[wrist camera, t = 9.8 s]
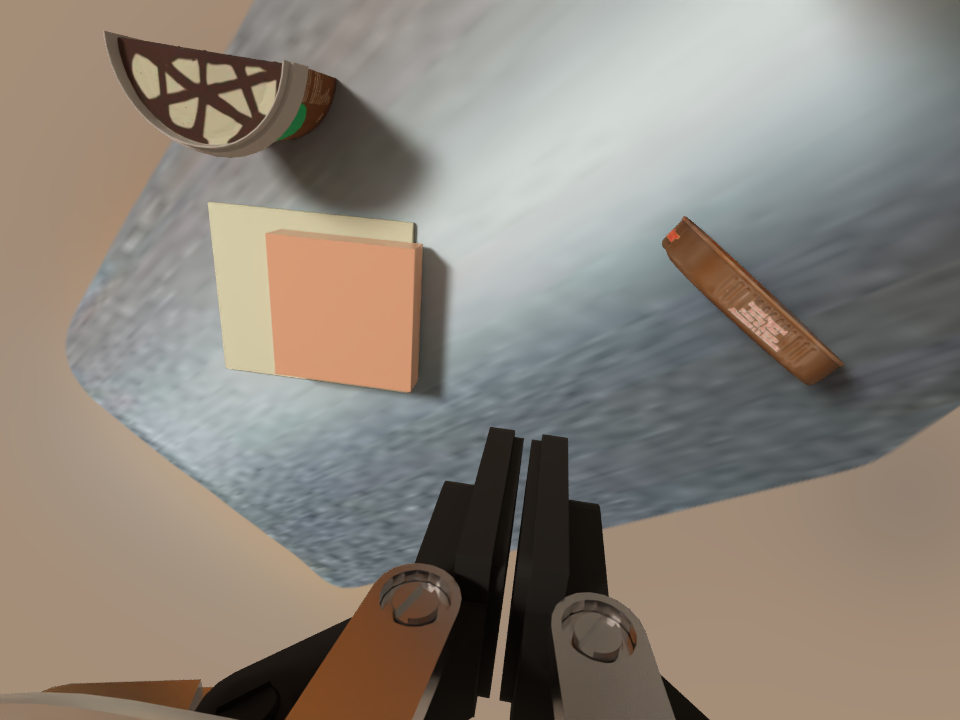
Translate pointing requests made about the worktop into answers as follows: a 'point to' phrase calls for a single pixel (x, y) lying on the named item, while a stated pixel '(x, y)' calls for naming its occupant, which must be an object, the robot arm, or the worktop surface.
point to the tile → (345, 308)
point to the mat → (247, 271)
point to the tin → (748, 303)
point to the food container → (219, 95)
